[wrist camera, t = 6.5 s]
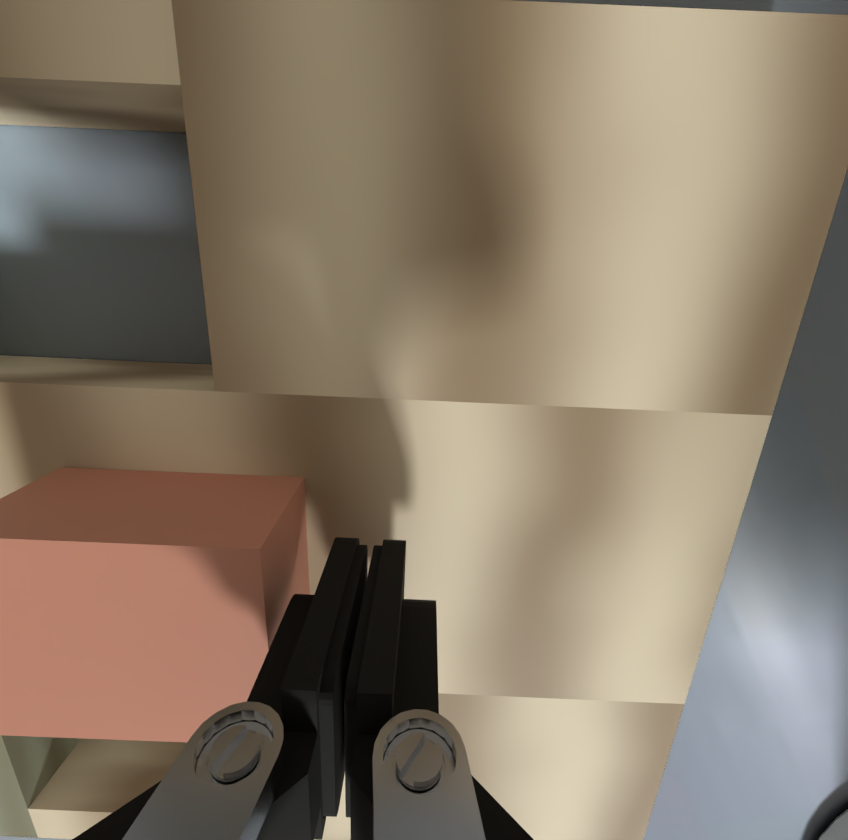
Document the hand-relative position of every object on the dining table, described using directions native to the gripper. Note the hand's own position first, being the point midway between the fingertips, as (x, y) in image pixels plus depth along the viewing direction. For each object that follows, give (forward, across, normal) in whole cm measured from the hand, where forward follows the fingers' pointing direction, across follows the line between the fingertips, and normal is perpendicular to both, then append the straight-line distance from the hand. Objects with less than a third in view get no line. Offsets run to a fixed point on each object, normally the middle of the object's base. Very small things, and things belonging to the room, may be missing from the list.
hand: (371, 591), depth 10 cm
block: (+1, +5, 0) cm, 5 cm away
